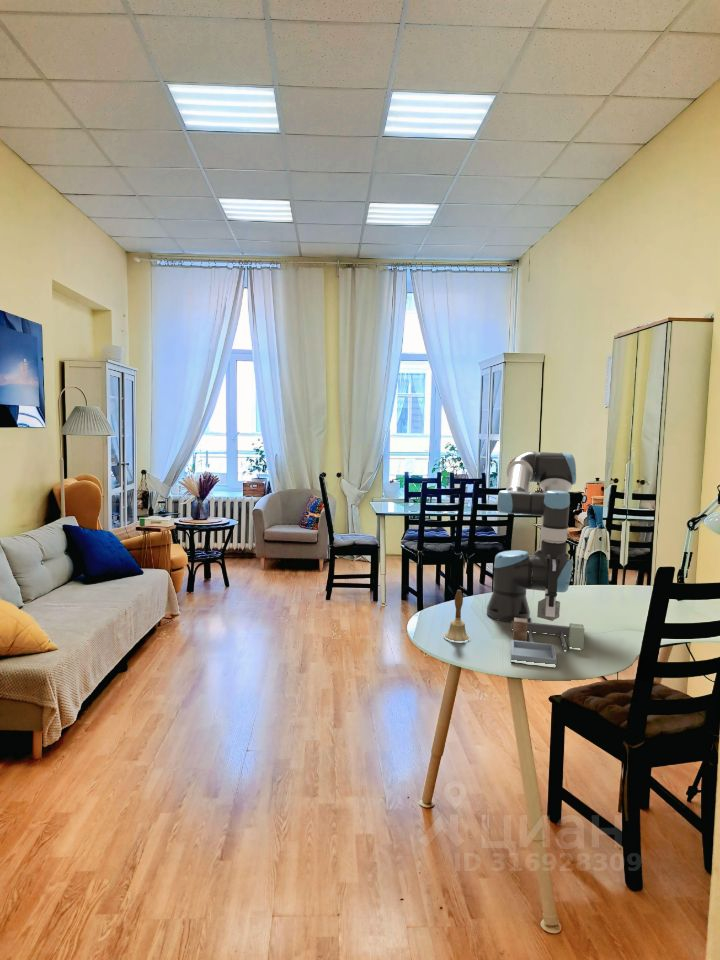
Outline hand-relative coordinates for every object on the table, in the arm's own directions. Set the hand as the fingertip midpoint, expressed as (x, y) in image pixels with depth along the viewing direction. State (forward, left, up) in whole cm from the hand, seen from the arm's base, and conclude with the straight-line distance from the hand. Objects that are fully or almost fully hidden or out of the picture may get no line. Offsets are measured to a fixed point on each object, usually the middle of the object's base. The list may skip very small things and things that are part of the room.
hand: (549, 612), depth 199 cm
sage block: (+8, 0, -10) cm, 13 cm away
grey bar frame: (0, +3, -10) cm, 11 cm away
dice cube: (0, 0, -2) cm, 2 cm away
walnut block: (-9, 0, -10) cm, 13 cm away
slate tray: (-5, -13, -10) cm, 18 cm away
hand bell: (-28, -4, -10) cm, 30 cm away
